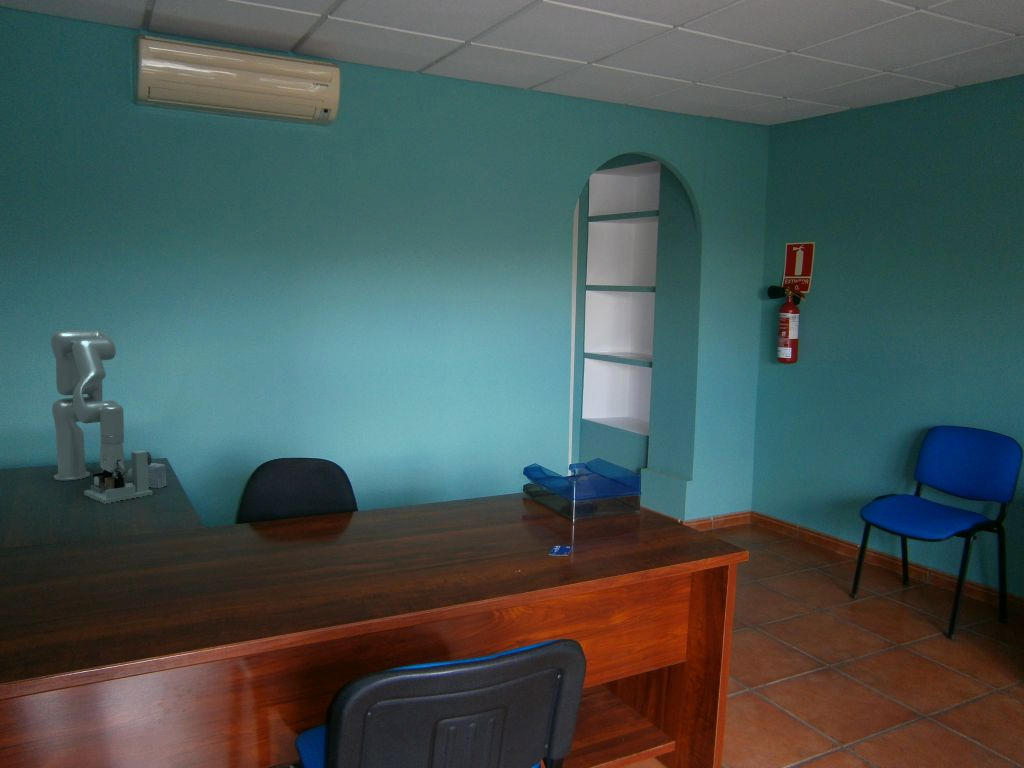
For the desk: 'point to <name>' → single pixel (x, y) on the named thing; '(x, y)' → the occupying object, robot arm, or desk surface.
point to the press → (131, 489)
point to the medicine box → (156, 475)
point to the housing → (110, 483)
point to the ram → (99, 479)
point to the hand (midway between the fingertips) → (113, 485)
